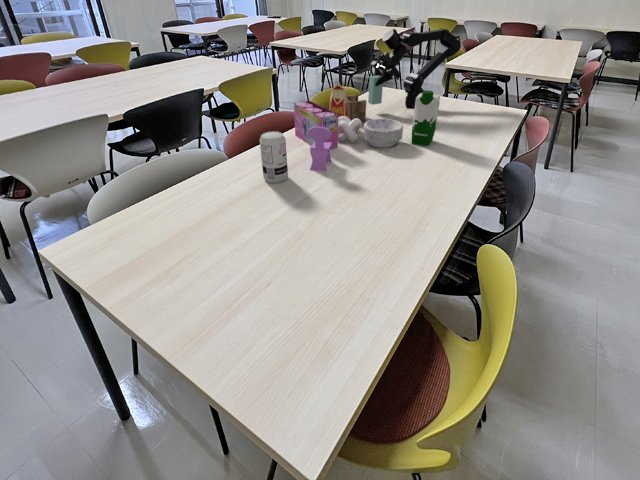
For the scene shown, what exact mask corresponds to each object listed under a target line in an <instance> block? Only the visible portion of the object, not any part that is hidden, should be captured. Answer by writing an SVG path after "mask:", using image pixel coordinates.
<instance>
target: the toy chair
mask: <svg viewBox="0 0 640 480" xmlns="http://www.w3.org/2000/svg"><path fill="white" fill-rule="evenodd" d="M308 135H309V137H311V138H312V139H313V140H315V141H314V143H313V145H312V146H311V145H310V148H309V153H310V157H311V166H310V167H309V171H310V170H311V171H323V172H328V168H327V165H326V162H327V163H332V162H333V161H332V157H331V151H332V150H331V148H332V142H325V141H326V140H328V139H329V138H330V137H331V135H332V132H331V131H330V130H329V129H327V128H325V127H319V126H315V127H311V128H309V129H308Z"/></svg>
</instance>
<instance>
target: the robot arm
mask: <svg viewBox="0 0 640 480" xmlns="http://www.w3.org/2000/svg"><path fill="white" fill-rule="evenodd" d="M437 40H439V44H440V46H439V50H438V52H437V53H436V54H434V55H433V57H431V59H430V60H429V61H428V62H427V63H426V64H424V66H423V67H421V69H420V70H419V71H418V72H410V73H409V75H408V76H406V77H405V80H403V89H404V92H405V93H406V96H405V101H404V105H405V107H406V108H407V109H415V102H416V97H417V96H418V95H419V94H420V93H422V92H423V91H425V90H424V88H423V85H424V83H425V80H426V79H427V78H428V77H429V76H430V74H432V73H433V72H434V71H435V70H436V69H437V68H438V67H439V66H440V65H441V64H442V63H443V62H444V61H445V60H446V59H448V58H451V57H452V56H454V55H456V54H457V53H458V52H459V51H460V50H461V47H462V46H461V43H462V42H461V41H460V40H459V39H458V38H457V37H455V35H453V33H451V31H449V29H447V28H439V29H433V30H428V31H422V32H418V31H417V32H416V31H404V32H403V34H401V35H399V33H398V31H397V29H396V28H393V27H392V28H391V29H390V30H389V31H387V32H386V33H384V35H383V36H382V41H383V43H384V44H385V46H386V47H387V48H388V49H389V50H391V52H387V51H385V52H380V51H376V52H375V55H374V57H373V58H374V59H375V60H373V61H372V62H371V63H370V65H371V66H372V67H373V69H374V72H373V75H372V76H377V75H380V78H379V79H378V81H377V82H376V84H375V85H376V86H378V85H380V84H382V83H383V84H384V83H386V82H389V81H391V80H397V81H398V80H399V79H400V78H401V72H400V71H399V70H398V68H397V66H400V65H401V63H400V62H401V61H402V60H403V58H404V57H405V56H409V57H410V56H411V49H410V48H414V47H416V46H419V45H420V44H422V43H425V42H431V41H437ZM408 47H410V48H408Z"/></svg>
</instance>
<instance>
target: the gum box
mask: <svg viewBox="0 0 640 480" xmlns="http://www.w3.org/2000/svg"><path fill="white" fill-rule="evenodd" d="M293 113H294V134H295V136H296V137H297V138H299V139H300V140H302V141H303V142H305V143H307V144H308V145H309V146H310V147H311V146H312V145H313V143H314V141H315V140H313V139H312V138H311V137H309V135H308V129H309V128H311V127H315V126H319V127H325V128H327V129H329V130H330V131H331V132H332V135H331V137H330V138H329V139H328V140H326V141H325V142H332V148H331V150H330V151H333V150H336V149H338V147H339V146H338V145H339V143H338V114H337V113H335V112H333V111H331V110H329V108H326V107H325V106H322V105H319V104H317V103H315V102H313V101H311V100H306V101H305V102H299V103H297V104H296V102H294V103H293Z"/></svg>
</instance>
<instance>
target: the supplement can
mask: <svg viewBox="0 0 640 480" xmlns="http://www.w3.org/2000/svg"><path fill="white" fill-rule="evenodd" d="M286 141H287V140H286V137H285V136H284V133H282V132H281V131H277V130H276V131H275V130H274V131H266V132H263V133H262V134H261V135H260V138H259V148H260V149H259V150H260V156H261V158H260V159H261V165H262V166H261V167H262V175H263V179H264V180H265V181H266V182H268V183H271V184H279V183H282V182H285V181H286V179H288V177H289V169H288V154H287V142H286Z"/></svg>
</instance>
